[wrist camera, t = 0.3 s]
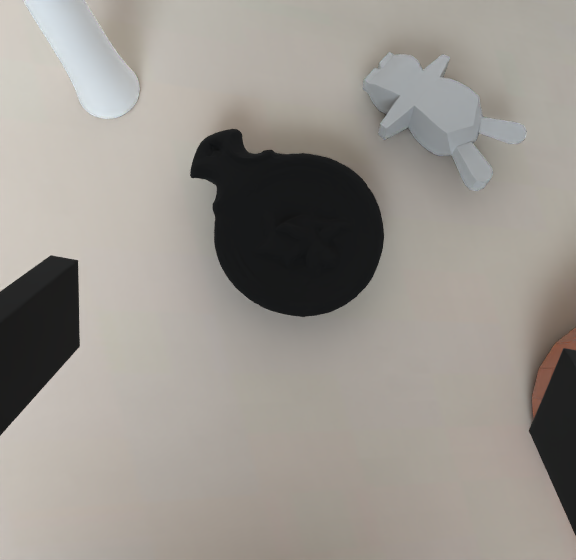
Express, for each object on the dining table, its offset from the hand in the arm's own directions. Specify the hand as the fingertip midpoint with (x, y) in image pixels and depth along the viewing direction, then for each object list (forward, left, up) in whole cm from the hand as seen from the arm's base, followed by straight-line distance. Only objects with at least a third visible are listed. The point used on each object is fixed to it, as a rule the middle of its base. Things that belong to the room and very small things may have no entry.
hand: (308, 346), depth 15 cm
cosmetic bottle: (+31, +9, -35) cm, 47 cm away
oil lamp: (+13, -3, -35) cm, 38 cm away
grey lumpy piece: (+18, -20, -35) cm, 44 cm away
